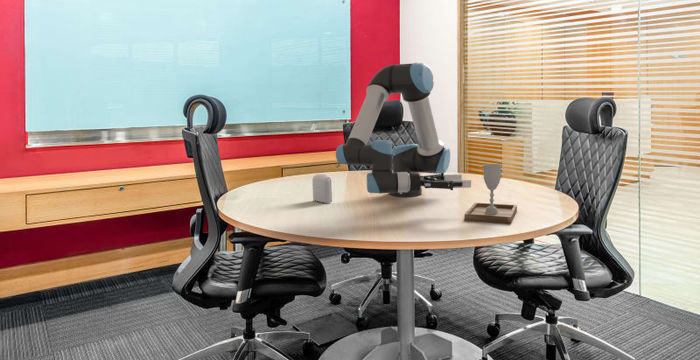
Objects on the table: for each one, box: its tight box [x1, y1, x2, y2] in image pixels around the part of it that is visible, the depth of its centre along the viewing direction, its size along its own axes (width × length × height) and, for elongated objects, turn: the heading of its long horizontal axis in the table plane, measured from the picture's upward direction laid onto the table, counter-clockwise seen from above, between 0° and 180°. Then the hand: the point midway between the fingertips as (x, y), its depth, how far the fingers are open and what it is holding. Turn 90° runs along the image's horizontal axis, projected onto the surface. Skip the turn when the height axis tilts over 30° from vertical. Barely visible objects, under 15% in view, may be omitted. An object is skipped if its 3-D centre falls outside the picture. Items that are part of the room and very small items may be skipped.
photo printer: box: [311, 173, 333, 204], centre depth 221 cm, size 10×4×12 cm, turn 39°
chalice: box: [482, 163, 503, 214], centre depth 187 cm, size 7×7×18 cm
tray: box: [463, 202, 518, 225], centre depth 189 cm, size 22×16×2 cm
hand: (466, 180), depth 187 cm, fingers open, 13 cm apart
